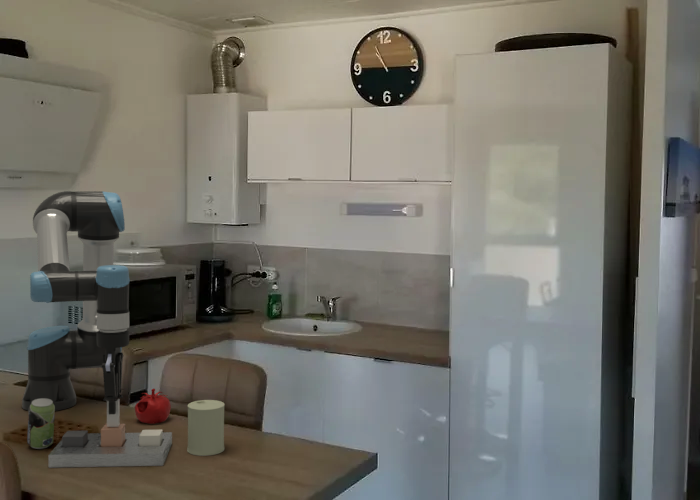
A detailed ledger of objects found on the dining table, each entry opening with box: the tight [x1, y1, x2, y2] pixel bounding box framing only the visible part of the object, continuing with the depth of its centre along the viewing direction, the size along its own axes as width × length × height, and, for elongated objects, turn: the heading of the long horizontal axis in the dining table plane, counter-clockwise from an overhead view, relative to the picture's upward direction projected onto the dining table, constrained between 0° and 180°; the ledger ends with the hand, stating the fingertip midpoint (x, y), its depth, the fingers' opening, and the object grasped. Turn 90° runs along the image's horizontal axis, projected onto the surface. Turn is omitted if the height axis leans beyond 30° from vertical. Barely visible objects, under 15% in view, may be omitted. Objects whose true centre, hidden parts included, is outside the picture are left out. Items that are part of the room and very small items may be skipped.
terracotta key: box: [100, 423, 126, 447], centre depth 186 cm, size 5×5×5 cm
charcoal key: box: [61, 430, 89, 447], centre depth 185 cm, size 5×5×5 cm
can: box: [186, 399, 226, 457], centre depth 191 cm, size 9×9×12 cm
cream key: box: [139, 429, 163, 446], centre depth 187 cm, size 5×5×5 cm
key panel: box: [48, 431, 173, 469], centre depth 186 cm, size 16×26×3 cm, turn 96°
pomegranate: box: [134, 388, 172, 425], centre depth 215 cm, size 10×10×9 cm
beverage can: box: [26, 398, 56, 450], centre depth 191 cm, size 6×7×12 cm
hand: (113, 425), depth 185 cm, fingers closed
